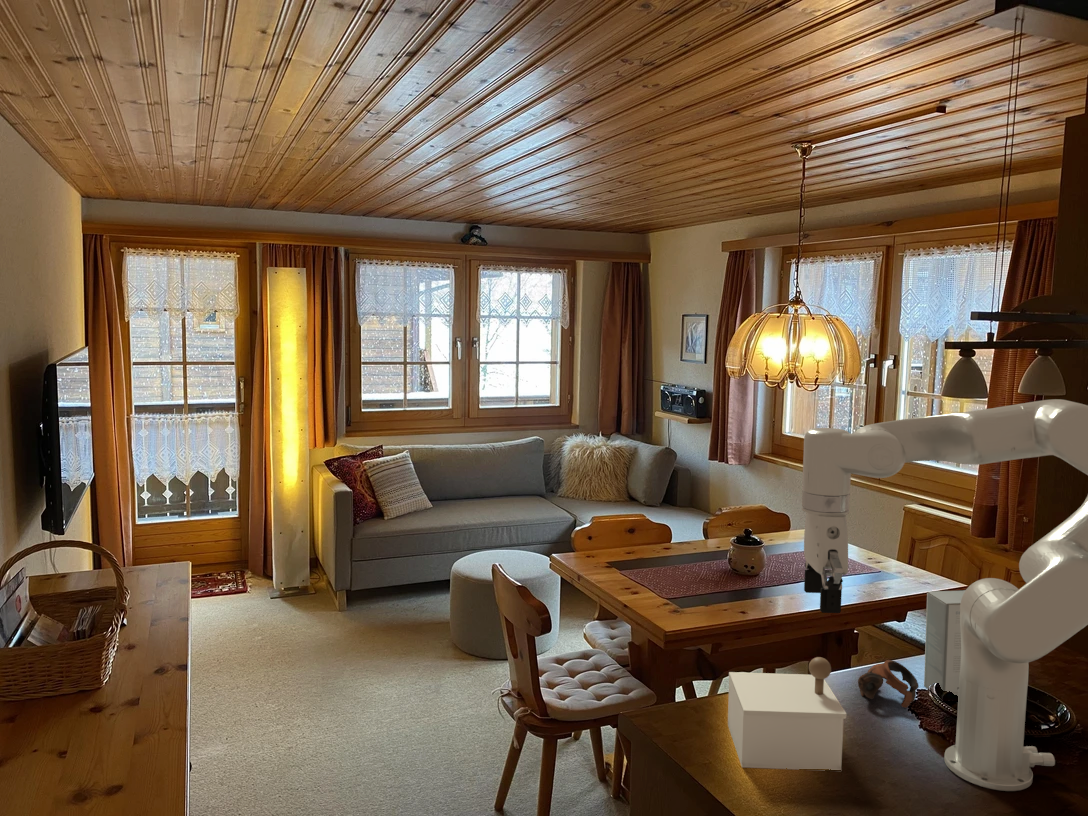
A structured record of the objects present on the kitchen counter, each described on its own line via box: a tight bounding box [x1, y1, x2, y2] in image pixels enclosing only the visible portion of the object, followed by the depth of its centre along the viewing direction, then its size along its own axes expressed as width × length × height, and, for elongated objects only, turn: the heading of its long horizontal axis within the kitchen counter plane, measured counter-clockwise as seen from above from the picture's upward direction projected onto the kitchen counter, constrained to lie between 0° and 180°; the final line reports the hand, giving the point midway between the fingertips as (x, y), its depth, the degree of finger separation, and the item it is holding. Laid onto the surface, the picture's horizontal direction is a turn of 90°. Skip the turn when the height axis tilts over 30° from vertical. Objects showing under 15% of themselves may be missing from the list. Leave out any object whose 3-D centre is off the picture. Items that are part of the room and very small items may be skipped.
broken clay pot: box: [857, 659, 919, 709], centre depth 153 cm, size 12×10×8 cm
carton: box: [727, 677, 844, 771], centre depth 135 cm, size 16×14×9 cm
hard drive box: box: [923, 589, 966, 696], centre depth 155 cm, size 16×8×20 cm, turn 92°
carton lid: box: [728, 656, 847, 720], centre depth 135 cm, size 16×14×7 cm
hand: (821, 601), depth 133 cm, fingers open, 9 cm apart
